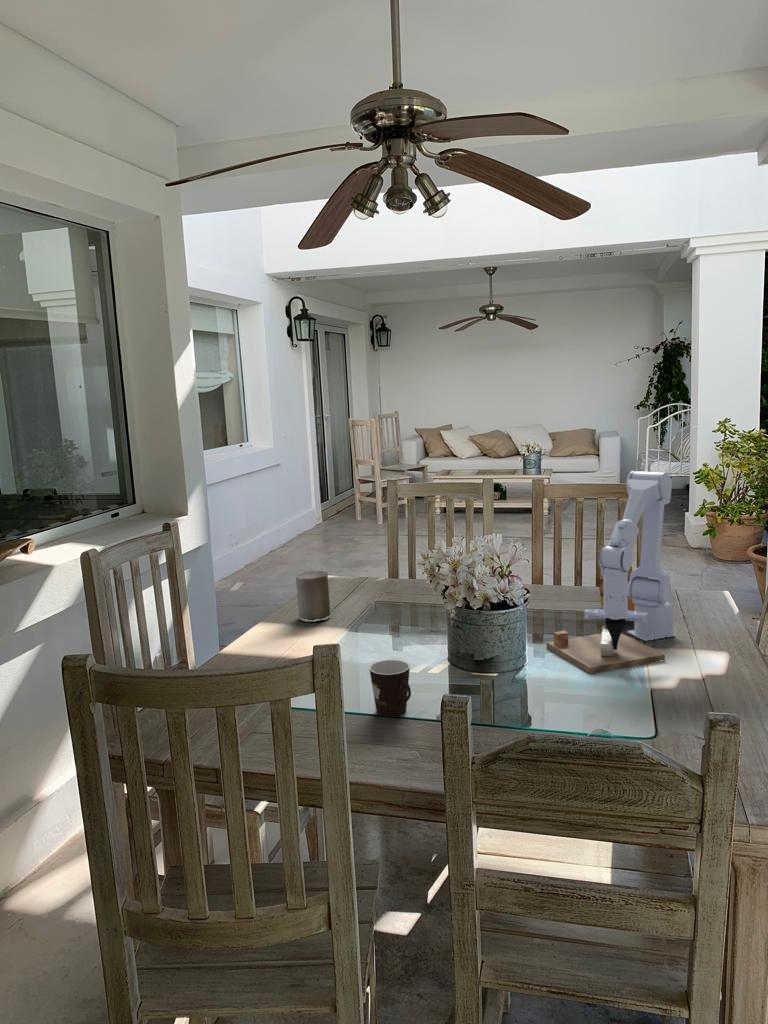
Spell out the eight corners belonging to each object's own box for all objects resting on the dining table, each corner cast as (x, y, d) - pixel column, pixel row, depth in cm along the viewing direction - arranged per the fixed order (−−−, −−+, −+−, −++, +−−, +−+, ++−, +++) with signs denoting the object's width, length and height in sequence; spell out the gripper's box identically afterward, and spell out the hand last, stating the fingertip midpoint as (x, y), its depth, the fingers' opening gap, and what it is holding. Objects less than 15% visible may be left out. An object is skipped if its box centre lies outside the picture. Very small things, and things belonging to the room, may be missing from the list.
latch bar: (601, 636, 205) (601, 620, 205) (614, 636, 204) (614, 621, 204) (599, 655, 192) (599, 638, 191) (612, 656, 191) (612, 639, 190)
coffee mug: (370, 704, 173) (368, 661, 172) (409, 701, 174) (407, 658, 172) (373, 727, 162) (371, 681, 160) (415, 724, 163) (413, 678, 161)
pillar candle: (337, 615, 240) (334, 567, 238) (317, 624, 232) (314, 575, 229) (311, 612, 245) (308, 565, 243) (291, 620, 237) (288, 572, 235)
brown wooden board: (616, 636, 210) (616, 620, 209) (664, 660, 191) (665, 642, 191) (546, 647, 204) (546, 631, 203) (590, 673, 185) (590, 655, 184)
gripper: (583, 597, 190) (583, 651, 192) (646, 600, 185) (646, 655, 188) (586, 590, 197) (586, 642, 199) (647, 592, 192) (646, 646, 194)
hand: (615, 648), depth 194 cm, fingers closed
